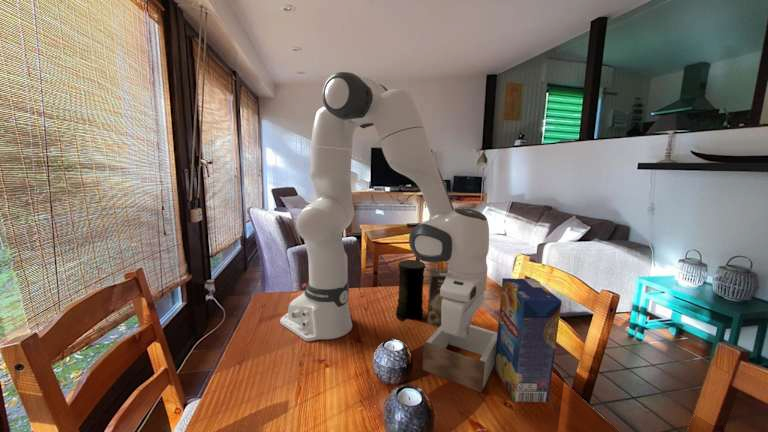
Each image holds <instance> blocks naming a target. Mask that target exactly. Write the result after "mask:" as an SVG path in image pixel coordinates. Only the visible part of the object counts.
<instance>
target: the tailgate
mask: <svg viewBox="0 0 768 432" xmlns="http://www.w3.org/2000/svg"><path fill="white" fill-rule="evenodd" d="M422 351H423V353H422V371H424V372H427V373H430V374H433V375H435V376H438V377H441V378H443V379H446V380H447V381H451V382H452V383H456V384H458V385H461V386H463V387H466V388H469V389H471V390H474V391H475V392H479V393H483V392H482V391H483V390H484V388H483V378H484V367H485V362H482V361H480V359H476V358H473V357H470V356H467V355H465V354H462V353H459V352H455V351H453V350H449V349H447V348H445V349H444V348H441V347H438V346H436V345H433V344H430V343H427V342H426V341H425V342H424V343H423V349H422Z"/></svg>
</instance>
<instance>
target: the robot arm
mask: <svg viewBox="0 0 768 432" xmlns="http://www.w3.org/2000/svg"><path fill="white" fill-rule="evenodd" d="M321 97H322V102H323V106H321V107H320V108H319V109H317V111H316V113H315V118H314V121H313V125H312V132H311V142H310V160H309V161H310V162H309V163H310V165H309V175H310V179H311V180H312V182H313V187H314V192H315V200H314V201H313V202H310V203H308V204H307V205H306V206H304V208H303V209H302V210H301V211H300V212H299V213H298V214H297V217H296V222H295V226H296V231H297V233H298V235H299V236H300V238H302V240H303V241H304V245H305V248H306V249H305V250H306V252H307V259H308V281H307V282H304V283H302V284H301V288H303V289H304V288H305V290H304V292H303V293H301V294H300V295H298V296H297V297H296V298H294V299H292V300H291V301H290V303H289V305H288V309H287V313H285V314H284V315H283V316H282V317H281V318H280V320H279V323H280V325H281V326H283V327H284V328H286V329H288V330H289V331H291V333H294V334H295V335H296V336H298V337H300V338H301V339H302V340H304V341H306V342H312V341H317V340H333V339H334V340H335V339H338V338H341V337H343V336H346V335H348V333H349V332H350V331H352V329H353V322H352V318H351V314H350V307H349V295H350V292H349V291H350V286H349V280H348V254H347V253H346V250H345V247H344V243H343V231H344V230H346V229H348V227H350V226H351V223H352V221H353V219H354V216H355V208H354V207H355V206H354V205H353V191H352V184H351V183H352V182H351V178H352V177H351V174H352V157H353V156H352V154H353V140H354V138H353V137H354V133H355V132H356V129H357V128H359V127H360V128H361V129H366V128H369V127H373V126H374V127H375V129H376V132H377V135H378V140H379V142H380V146H381V151H382V153H383V157H384V158H385V160H386V162H387V164H388V165H389V167H390V169H392V170H393V171H395V172H397V173H398V174H400V175H402V176H405V177H406V178H408V179H410V180H411V181H412V182H414V183H415V184H416V186H417V187H418V189H420V192H421V194H422V197H423V199H424V203H425V205H426V207H427V209H428V210H427V211H428V213H429V215H430V217H429V218H430V219H428V220H426V221H423V222H421V223H418V225H416V226H414V227H413V228H412V229H411V231H410V233H409V237H408V243H409V248H410V250H411V252H412V253H413V255H414V256H415V257H416V259H417V260H418V259H419V261H421V262H424V263H447V270H448V271H447V274H446V278H445V281H444V283H443V284H442V286H441V288H440V296H442V297H443V300H442V306H441V323H442V329H443V331H444V332H445V333H447V334H450V335H454V336H459V337H461V338H466V336H467V335H468V333H469V330H470V325H472V324H471V323H472V320H473V317H474V316H475V315H476V313H477V312H478V310H479V309H480V307H481V306H482V305H483V304H484V301H485V300H484V299H485V298H484V297H485V291H486V290H487V281H488V280H487V279H488V263H487V256H488V254H489V251H490V228H489V227H490V226H489V221H488V218H487V216H485V215H484V214H483V213H482V212H480V211H478V210H475V209H471V208H463V207H460V208H459V207H458V208H455V207H454V206H453V203H452V200H451V198H450V194H449V191H448V189H447V186H446V184H445V182H444V179H443V176H442V173H441V171H440V169H439V167H438V164H437V163H436V159H435V157H434V155H433V152H432V150H431V146H430V143H429V140H428V136H427V133H426V130H425V127H424V123H423V121H422V117H421V114H420V112H419V109H418V108H417V105H416V104H415V101H414V100H413V98H412V95H410V92H408V91H406V90H404V89H401V88H392V89H387V88H386V87H385V86H384V85H383V84H380V83H378V82H376V81H374V80H373V79H370V78H369V77H365V76H364V77H363V76H361V75H356V74H355V73H352V72H349V71H348V72H346V71H340V72H335V73H333V74H331V75H330V76H329V77H328V78H327V79H326V81H325V83H324V84H323V88H322V96H321Z"/></svg>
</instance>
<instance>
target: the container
mask: <svg viewBox="0 0 768 432" xmlns="http://www.w3.org/2000/svg"><path fill="white" fill-rule="evenodd" d="M398 267H399V268H398V270H399V274H398V278H399V281H398V282H399V283H398V299H397V307H396V313H395V316H396V318H397V320H398V321H401V322H404V321H406V320H416V321H419V322H420V321H423V318H424V308H423V304H424V301H423V294H424V290H423V289H424V279H425V275H424V273H425V268H426V264H425V262H424V261H422V260H418V259H417V260H416V259H404V260H400V261H399V262H398Z"/></svg>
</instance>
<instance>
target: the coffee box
mask: <svg viewBox="0 0 768 432" xmlns="http://www.w3.org/2000/svg"><path fill="white" fill-rule="evenodd" d="M447 271H448V269H447V270H446V269H432V268H430V275H429V285H428V286H429V287H428V298H427V299H428V300H427V301H428V302H427V311H426V312H427V314H426V316H427V317H426V320H427V324H428V325H432V326H439V327H440V326H441V325H442V323H441V306H442V300H443V297H442V296H440V288H441V286H442V284H443V283H444V281H445V278H446V274H447Z"/></svg>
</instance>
